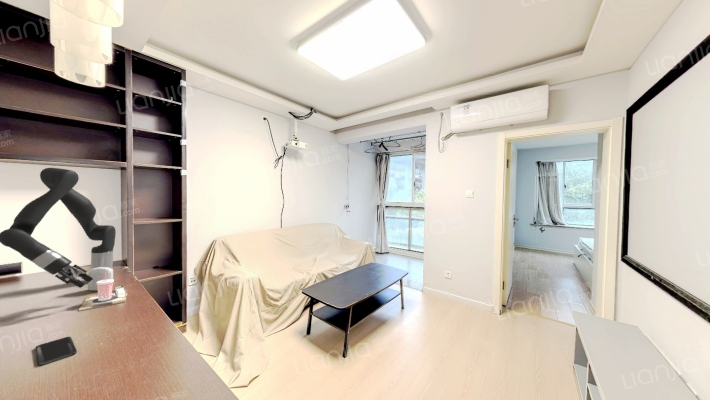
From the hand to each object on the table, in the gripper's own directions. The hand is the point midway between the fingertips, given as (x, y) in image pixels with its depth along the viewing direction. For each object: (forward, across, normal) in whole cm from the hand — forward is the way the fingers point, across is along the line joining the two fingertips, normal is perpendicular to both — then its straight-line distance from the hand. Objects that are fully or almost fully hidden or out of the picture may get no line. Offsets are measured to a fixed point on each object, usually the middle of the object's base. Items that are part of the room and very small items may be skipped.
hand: (87, 283), depth 116 cm
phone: (+12, -46, +2) cm, 47 cm away
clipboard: (+11, 0, +2) cm, 11 cm away
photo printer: (+6, +19, +7) cm, 21 cm away
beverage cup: (+11, 0, +2) cm, 11 cm away
